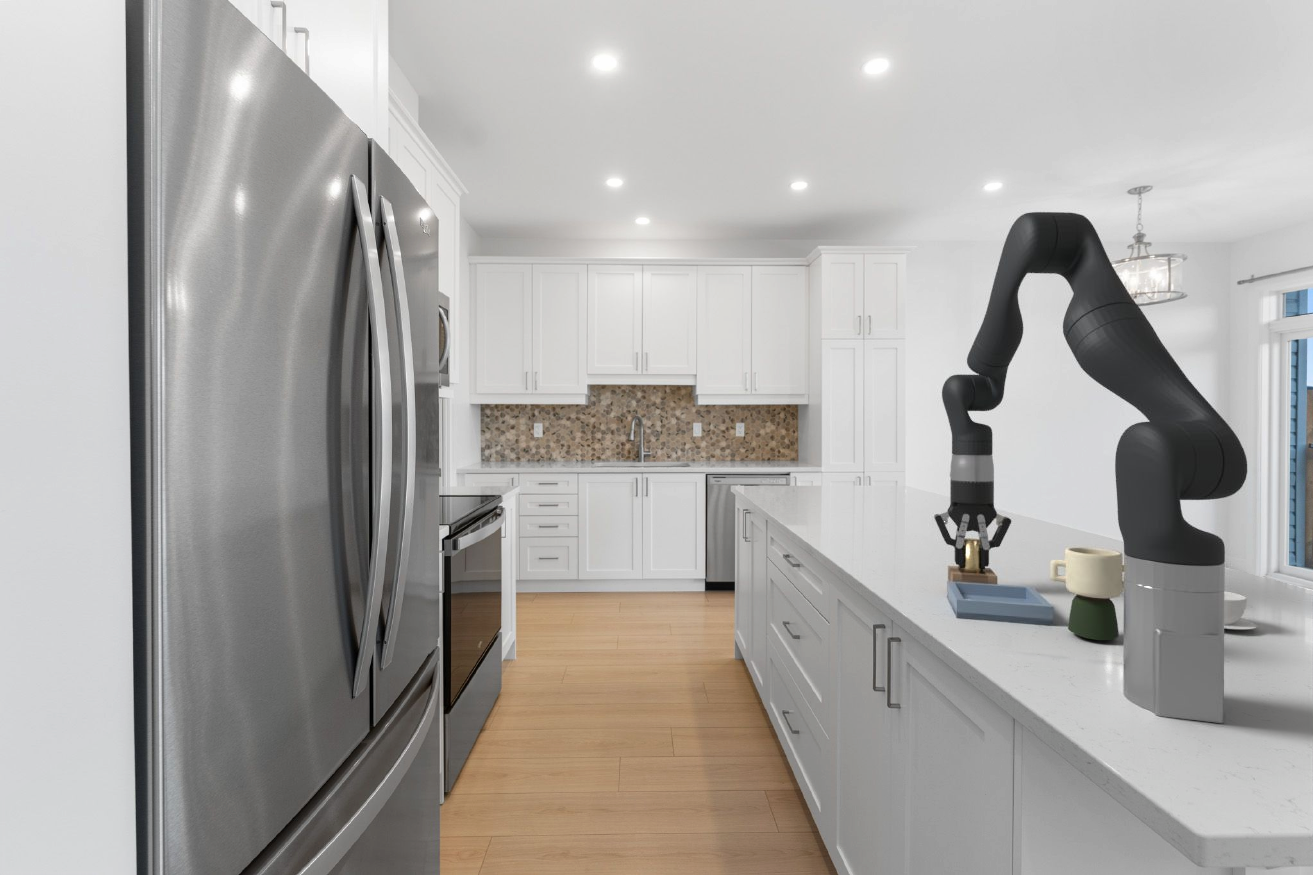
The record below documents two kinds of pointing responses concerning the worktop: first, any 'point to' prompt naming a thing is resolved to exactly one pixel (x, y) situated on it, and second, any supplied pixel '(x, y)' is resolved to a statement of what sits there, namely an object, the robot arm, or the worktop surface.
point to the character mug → (1091, 590)
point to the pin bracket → (971, 576)
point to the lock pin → (972, 556)
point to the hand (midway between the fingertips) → (971, 567)
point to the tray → (999, 603)
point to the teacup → (1235, 612)
